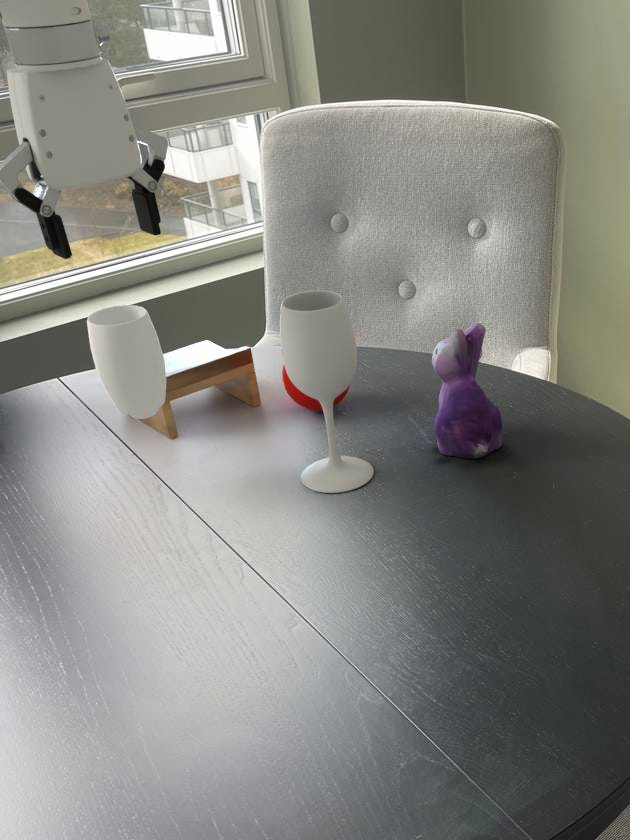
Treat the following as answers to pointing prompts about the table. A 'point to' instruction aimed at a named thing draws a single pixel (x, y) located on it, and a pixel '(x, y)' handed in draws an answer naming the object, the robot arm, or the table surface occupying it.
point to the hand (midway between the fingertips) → (108, 243)
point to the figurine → (464, 398)
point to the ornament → (305, 399)
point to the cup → (128, 359)
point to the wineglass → (322, 376)
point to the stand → (205, 378)
